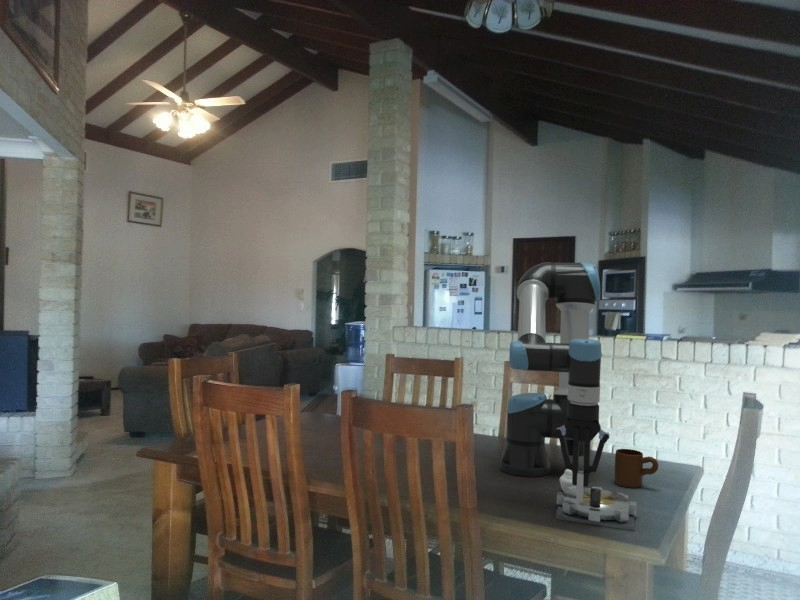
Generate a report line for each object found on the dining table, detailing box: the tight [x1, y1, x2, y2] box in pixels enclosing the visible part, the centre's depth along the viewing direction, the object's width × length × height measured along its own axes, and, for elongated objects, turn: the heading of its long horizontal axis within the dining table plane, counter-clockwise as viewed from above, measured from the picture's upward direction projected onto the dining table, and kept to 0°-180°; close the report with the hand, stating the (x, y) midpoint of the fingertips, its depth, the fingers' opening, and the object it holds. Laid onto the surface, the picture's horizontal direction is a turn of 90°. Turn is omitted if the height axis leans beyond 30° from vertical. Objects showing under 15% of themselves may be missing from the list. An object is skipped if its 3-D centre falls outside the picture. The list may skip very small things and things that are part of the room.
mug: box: [614, 448, 659, 489], centre depth 176 cm, size 12×8×9 cm, turn 50°
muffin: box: [559, 468, 577, 492], centre depth 168 cm, size 6×6×7 cm
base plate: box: [554, 504, 636, 532], centre depth 154 cm, size 18×18×1 cm
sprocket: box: [555, 486, 638, 522], centre depth 154 cm, size 19×19×6 cm
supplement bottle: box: [566, 439, 584, 456], centre depth 210 cm, size 7×7×12 cm
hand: (579, 498), depth 150 cm, fingers closed
